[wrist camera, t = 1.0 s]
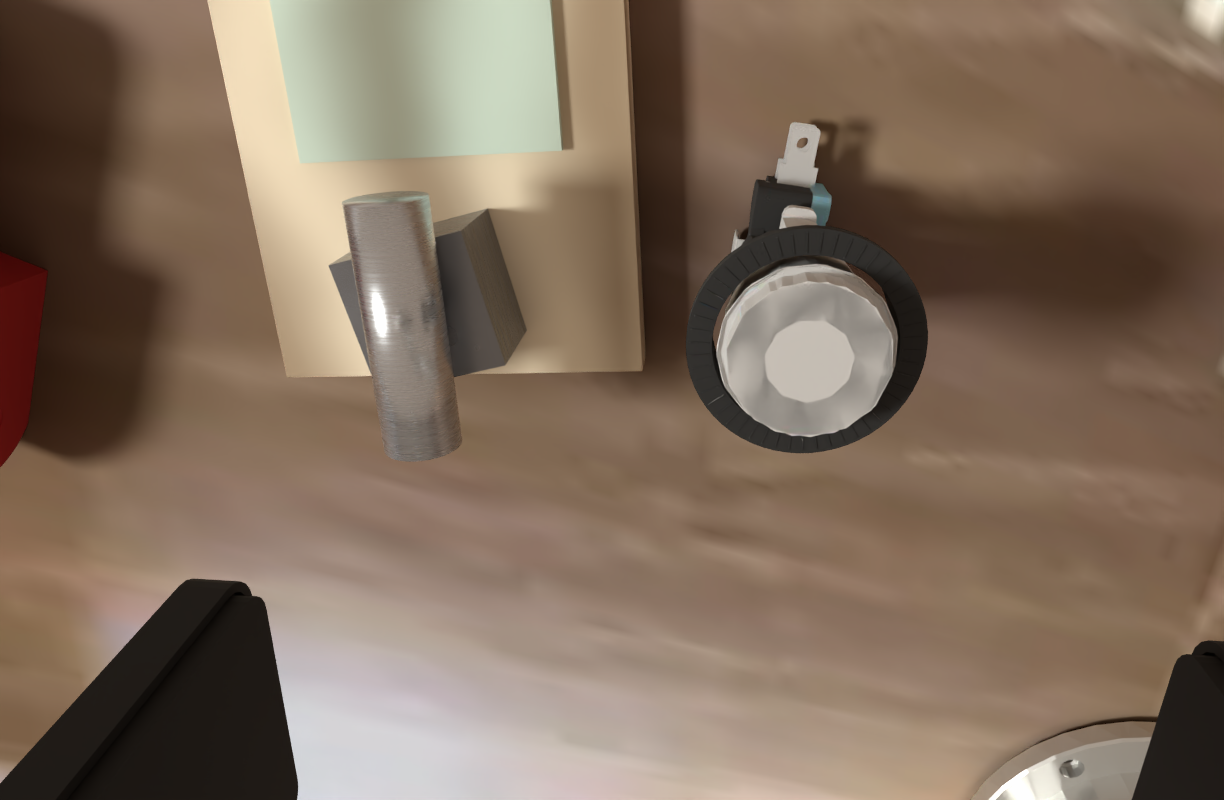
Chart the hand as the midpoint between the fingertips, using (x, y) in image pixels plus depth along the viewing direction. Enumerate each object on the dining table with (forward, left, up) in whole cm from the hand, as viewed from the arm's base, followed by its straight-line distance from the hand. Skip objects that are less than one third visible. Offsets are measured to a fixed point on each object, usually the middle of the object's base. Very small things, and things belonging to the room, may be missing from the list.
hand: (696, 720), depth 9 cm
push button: (-2, -1, -21) cm, 21 cm away
